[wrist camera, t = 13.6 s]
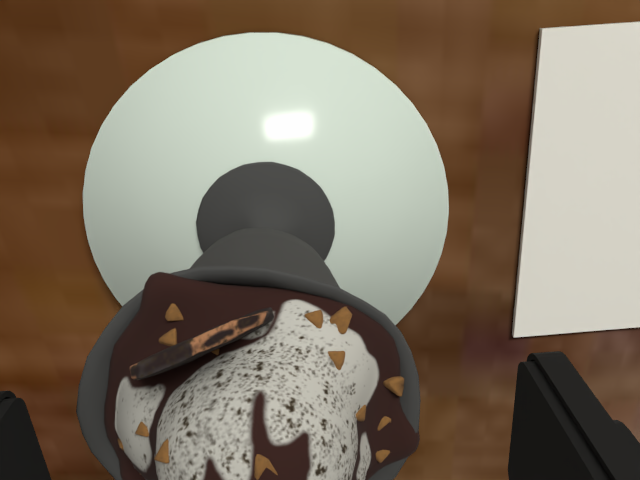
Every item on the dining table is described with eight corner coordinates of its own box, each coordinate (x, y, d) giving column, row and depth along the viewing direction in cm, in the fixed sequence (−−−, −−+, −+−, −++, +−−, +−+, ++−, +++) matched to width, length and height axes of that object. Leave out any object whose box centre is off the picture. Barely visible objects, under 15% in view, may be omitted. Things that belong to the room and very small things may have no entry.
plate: (450, 18, 18) (455, 19, 18) (440, 350, 24) (443, 359, 23) (47, 46, 18) (39, 47, 18) (127, 376, 23) (124, 386, 23)
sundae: (327, 326, 22) (401, 867, 8) (155, 283, 21) (-89, 831, 7) (386, 169, 20) (626, 563, 6) (196, 111, 19) (-48, 436, 5)
